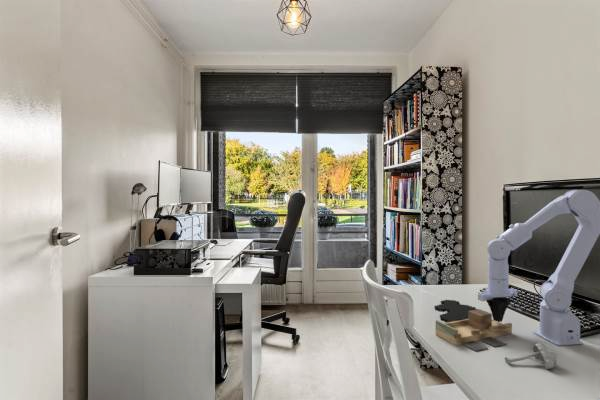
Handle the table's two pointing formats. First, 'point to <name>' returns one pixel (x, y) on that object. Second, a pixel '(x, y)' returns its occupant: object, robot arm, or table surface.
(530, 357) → the mushroom
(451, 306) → the black pixelated cutout
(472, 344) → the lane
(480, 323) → the walnut block
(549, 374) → the table surface
